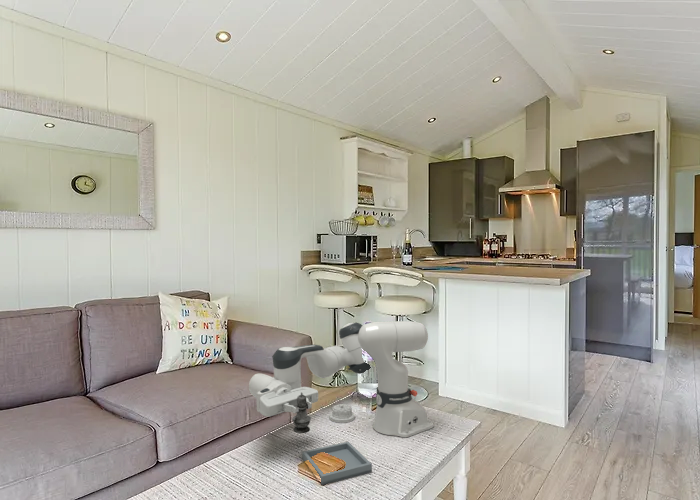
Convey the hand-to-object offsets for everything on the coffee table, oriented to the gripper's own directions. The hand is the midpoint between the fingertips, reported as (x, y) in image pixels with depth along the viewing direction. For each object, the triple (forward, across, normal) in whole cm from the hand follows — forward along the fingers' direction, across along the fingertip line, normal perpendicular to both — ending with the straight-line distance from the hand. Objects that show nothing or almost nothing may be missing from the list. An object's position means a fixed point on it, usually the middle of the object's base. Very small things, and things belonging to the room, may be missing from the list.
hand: (303, 408), depth 139 cm
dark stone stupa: (-1, 0, -7) cm, 7 cm away
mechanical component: (-16, -30, -17) cm, 38 cm away
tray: (+10, -5, -16) cm, 20 cm away
